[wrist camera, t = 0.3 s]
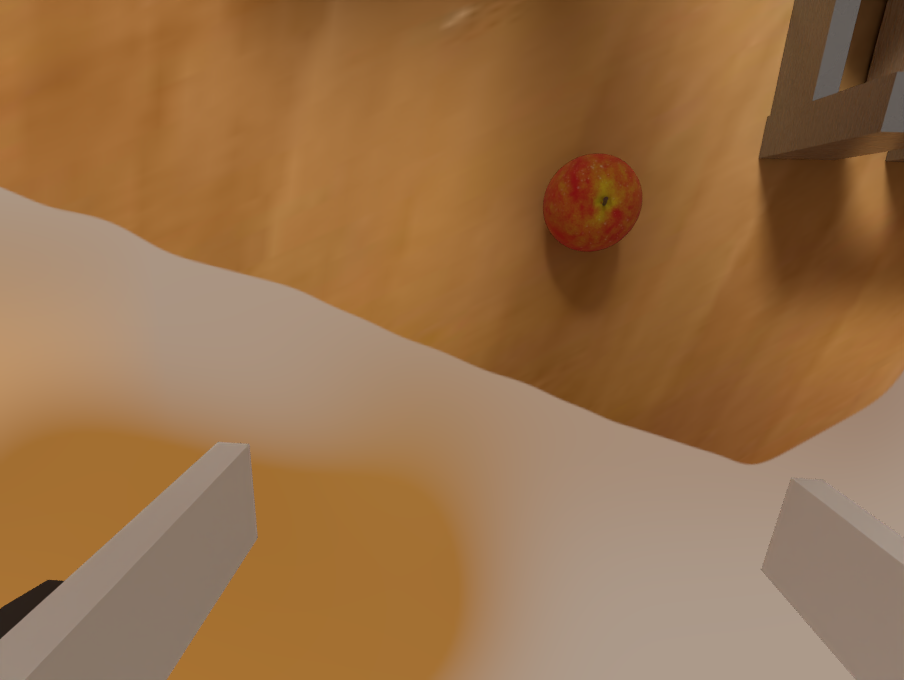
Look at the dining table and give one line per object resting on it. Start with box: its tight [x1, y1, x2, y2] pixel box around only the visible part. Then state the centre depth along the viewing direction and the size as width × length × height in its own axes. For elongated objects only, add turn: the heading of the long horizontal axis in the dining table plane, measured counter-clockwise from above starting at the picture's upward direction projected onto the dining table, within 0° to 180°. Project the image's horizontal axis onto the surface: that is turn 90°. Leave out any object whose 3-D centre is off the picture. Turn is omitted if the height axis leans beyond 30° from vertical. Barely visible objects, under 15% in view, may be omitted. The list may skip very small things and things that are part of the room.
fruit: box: [543, 154, 642, 252], centre depth 31 cm, size 7×7×8 cm
